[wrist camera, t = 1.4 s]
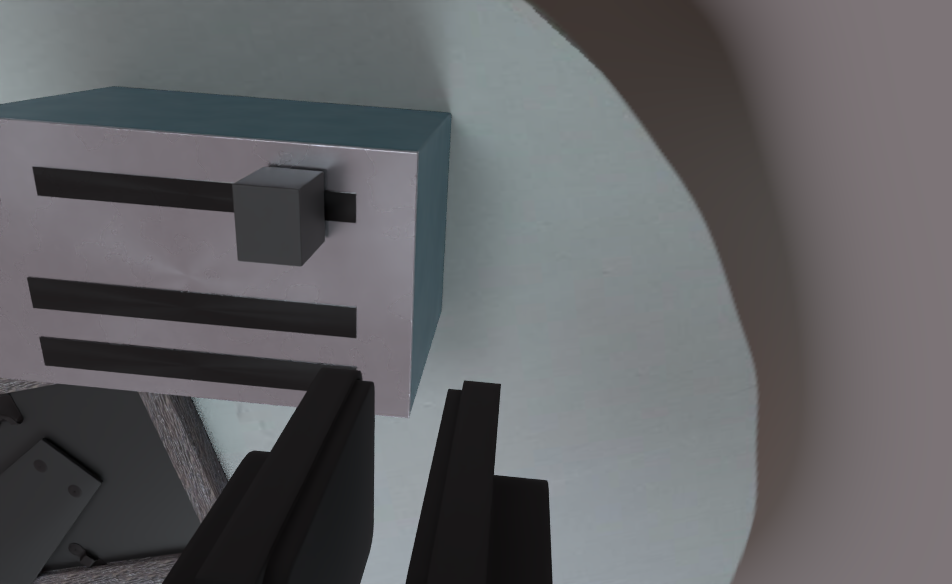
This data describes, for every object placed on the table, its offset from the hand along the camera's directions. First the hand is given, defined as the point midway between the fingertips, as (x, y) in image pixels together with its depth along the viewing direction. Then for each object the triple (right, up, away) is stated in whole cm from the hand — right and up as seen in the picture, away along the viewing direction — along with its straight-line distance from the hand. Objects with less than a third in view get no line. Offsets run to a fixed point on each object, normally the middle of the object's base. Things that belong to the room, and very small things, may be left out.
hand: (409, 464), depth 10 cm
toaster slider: (-5, +5, +12) cm, 14 cm away
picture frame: (-25, -8, +31) cm, 40 cm away
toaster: (-8, +7, +23) cm, 25 cm away
